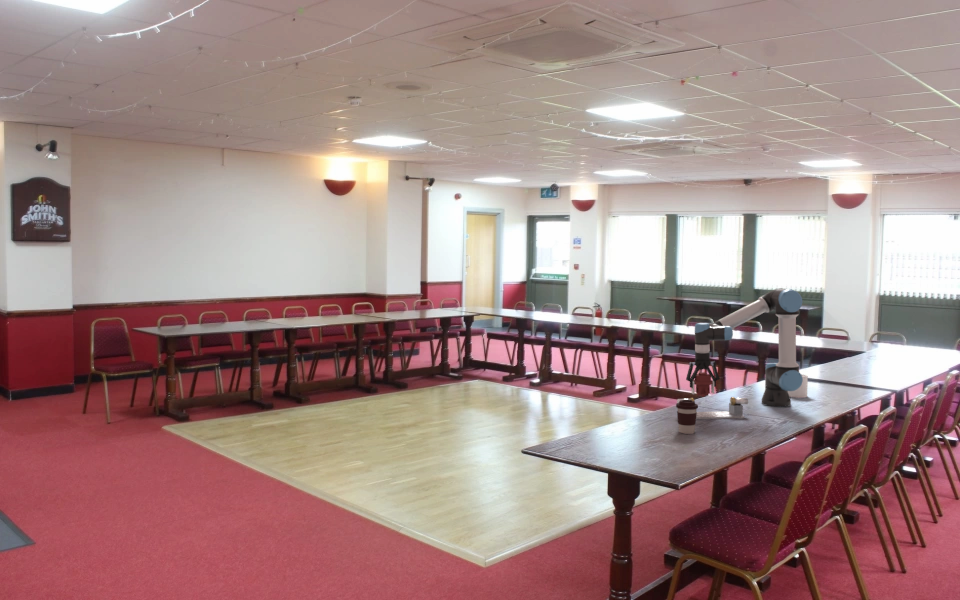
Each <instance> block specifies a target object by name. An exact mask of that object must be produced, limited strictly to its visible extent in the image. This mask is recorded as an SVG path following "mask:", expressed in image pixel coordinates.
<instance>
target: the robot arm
mask: <svg viewBox="0 0 960 600" xmlns="http://www.w3.org/2000/svg"><path fill="white" fill-rule="evenodd" d="M802 306H803V297H802V295H801V294H800V293H799V292H798V291H797V290H794V289H791V288H783V287H780V288H775V289H772V290H771V291H769V292H766V293H764V294H763V295H761V296H759V297H758V299H757V300H755V301H753V302H751V303H749V304H748V305H745V306H743V307H741V308H739V309H738V310H736V311H734V312H732V313H729V314H728V315H725V316H724V317H722V318H720V319H717V320H716V321H714V322H698V323H695V325H694V351H695V353H694V362H691V361H690V362H688V363H689V364H688V365H689V367H688V369H687V373H686V379H685V380H686V381H688V382H689V388H691V394H692V395H695V393H696V388H695V384H694V382H693V380H695V377H696V375H697V374H699V372H700V371H702V370H705V371H707V374H710V375H711V380H712V381H713V384H711V385H710V392H711V393H712V394H715V388H717V387H716V386H717V381H718V380H720V375H719V372H718V369H717V361H715V360H714V361H711V355H710V354H711V353H710V352H711V350H710V343H711V341H712V342H713V341H730V340H732V339H733V334H734V333H733V329H734V328H736V327H738V326H740V325H743V324H744V323H746V322H748V321H750V320H752V319H755V318H756V317H758V316H760V315H762V314H763V313H770V312H773V311H774V313H775V316H776V317H778V322H777V323H778V362H767V363H765V372H764V373H765V377H764V379H765V380H764V381H765V383H764V388H765V389H764V392H763V395H762V397H761V404H762V405H764V406H769V407H779V408H781V407H785V408H786V407H790V406H792V399H791V397H789V394H788V391H795V390H797V389H798V388H799V387H800V386H801V385H802V382H803V378H802V375H803V374H802V373H801V372H800V365H799V363H798V362H797V338H796V337H797V336H796V335H797V329H796V328H797V326H796V325H797V323H796V322H797V320H796V318H797V317H798V316H799V315H800V309H801V308H802ZM710 365H711V367H712V370H711V368H710ZM694 366H695V368H694ZM712 371H713V372H712ZM801 374H802V375H801Z"/></svg>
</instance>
